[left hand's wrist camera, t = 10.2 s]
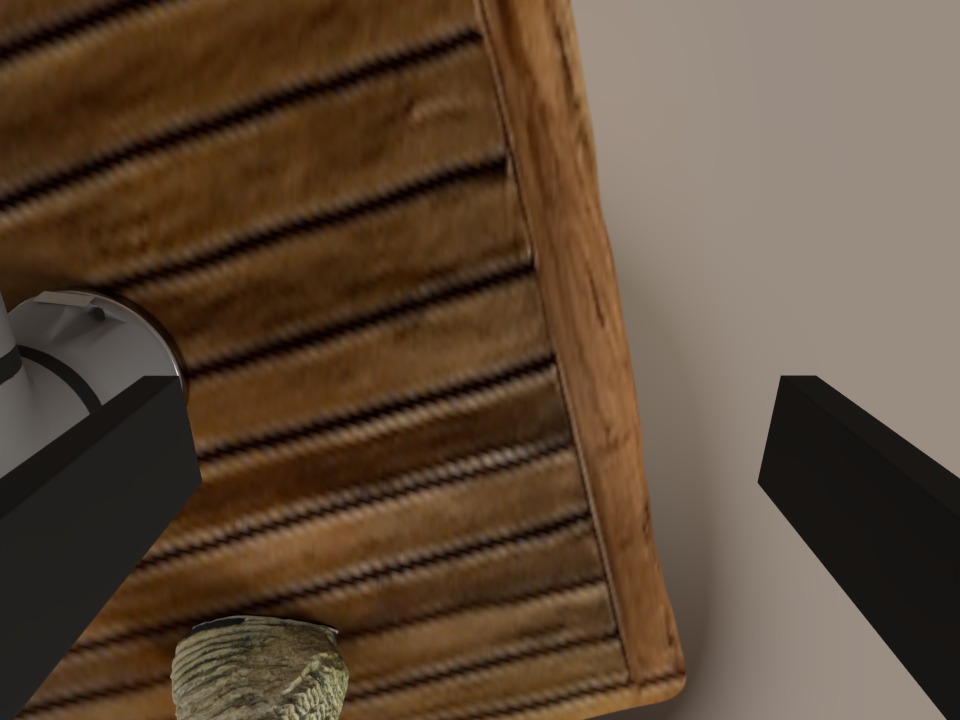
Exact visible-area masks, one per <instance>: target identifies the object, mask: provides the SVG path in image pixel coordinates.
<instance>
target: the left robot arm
mask: <svg viewBox="0 0 960 720" xmlns="http://www.w3.org/2000/svg"><path fill="white" fill-rule="evenodd" d="M188 397H189V378H188V372H187V368H186V364H185V361H184V359H183V356H182V354H181V352H180V350H179V348H178V346H177V344H176V343H175V341H174V340H173V338H172V337H171V336H170V334H169V333H168V332H167V331H166V329H165V328H164V327H163V326H162V325H161V324H160V323H159V322H158V321H157V320H156V319H155V318H154V317H153V316H152V315H150V314H149V313H148V312H146V311H145V310H144V309H142V308H141V307H139V306H138V305H136V304H135V303H133V302H131V301H129V300H127V299H125V298H123V297H121V296H119V295H116V294H113V293H110V292H107V291H104V290H100V289H94V288H88V287H66V288H60V289H55V290H52V291H49V292H48V291H43V292H42V293H41V294H40V295H38V296H35V297H32V298H30V299H28V300H26V301H24V302H23V303H21V304H20V305H18V306H17V307H16V308H14V309H13V310H12V311H10V312H9V313H8V314H7V311H6V307H5V304H4V301H3V298H2V295H1V292H0V720H13V719H14V718H15V717H16V716H17V714H18V713H19V712H20V711H21V709H22V708H23V707H24V706H25V704H26V703H27V702H28V701H29V699H30V698H31V697H32V696H33V694H34V693H35V692H36V691H37V689H38V688H39V687H40V685H41V684H42V683H43V682H44V680H45V679H46V678H47V677H48V675H49V674H50V673H51V672H52V670H53V669H54V668H55V667H56V665H57V664H58V663H59V662H60V660H61V659H62V658H63V657H64V655H65V654H66V653H67V652H68V650H69V649H70V648H71V647H72V645H73V644H74V643H75V642H76V640H77V639H78V638H79V637H80V635H81V634H82V633H83V632H84V630H85V629H86V628H87V627H88V625H89V624H90V623H91V622H92V620H93V619H94V618H95V617H96V615H97V614H98V613H99V612H100V610H101V609H102V608H103V607H104V605H105V604H106V603H107V602H108V600H109V599H110V598H111V597H112V595H113V594H114V593H115V592H116V590H117V589H118V588H119V587H120V585H121V584H122V583H123V581H124V580H125V579H126V578H127V576H128V575H129V574H130V573H131V571H132V570H133V569H134V568H135V566H136V565H137V564H138V563H139V561H140V560H141V559H142V558H143V556H144V555H145V554H146V553H147V551H148V550H149V549H150V548H151V546H152V545H153V544H154V543H155V541H156V540H157V539H158V538H159V536H160V535H161V534H162V533H163V531H164V530H165V529H166V528H167V526H168V525H169V524H170V523H171V521H172V520H173V519H174V518H175V516H176V515H177V514H178V513H179V511H180V510H181V509H182V508H183V506H184V505H185V504H186V503H187V501H188V500H189V499H190V498H191V496H192V495H193V494H194V493H195V491H196V490H197V489H198V488H199V486H200V485H201V484H202V478H201V473H200V469H199V464H198V460H197V455H196V451H195V446H194V441H193V437H192V432H191V428H190V423H189V419H188V414H187V410H186V406H187V402H188ZM758 484H759V485H760V486H761V488H762V489H763V490H764V491H765V493H766V494H767V495H768V496H769V498H770V499H771V500H772V501H773V503H774V504H775V505H776V506H777V508H778V509H779V510H780V511H781V513H782V514H783V515H784V516H785V518H786V519H787V520H788V521H789V523H790V524H791V525H792V526H793V528H794V529H795V530H796V531H797V533H798V534H799V535H800V536H801V538H802V539H803V540H804V541H805V543H806V544H807V545H808V546H809V548H810V549H811V550H812V551H813V553H814V554H815V555H816V556H817V558H818V559H819V560H820V561H821V563H822V564H823V565H824V566H825V568H826V569H827V570H828V571H829V573H830V574H831V575H832V576H833V578H834V579H835V580H836V581H837V583H838V584H839V585H840V586H841V588H842V589H843V590H844V592H845V593H846V594H847V595H848V597H849V598H850V599H851V600H852V602H853V603H854V604H855V605H856V607H857V608H858V609H859V610H860V611H861V613H862V614H863V615H864V617H865V618H866V619H867V620H868V621H869V623H870V624H871V625H872V627H873V628H874V629H875V630H876V631H877V633H878V634H879V635H880V637H881V638H882V639H883V640H884V642H885V643H886V644H887V645H888V647H889V648H890V649H891V650H892V652H893V653H894V654H895V655H896V657H897V658H898V659H899V660H900V662H901V663H902V664H903V665H904V667H905V668H906V669H907V670H908V672H909V673H910V674H911V675H912V677H913V678H914V679H915V680H916V682H917V683H918V684H919V685H920V687H921V688H922V689H923V691H924V692H925V693H926V694H927V695H928V697H929V698H930V699H931V700H932V702H933V703H934V704H935V706H936V707H937V708H938V709H939V710H940V712H941V713H942V714H943V716H944V717H945V718H946V719H947V720H960V478H958V477H957V476H955V475H954V474H953V473H951V472H950V471H949V470H947V469H946V468H944V467H943V466H942V465H940V464H939V463H937V462H936V461H935V460H933V459H932V458H930V457H929V456H928V455H926V454H925V453H923V452H922V451H921V450H919V449H918V448H916V447H915V446H914V445H912V444H911V443H909V442H908V441H907V440H905V439H904V438H902V437H901V436H900V435H898V434H897V433H895V432H894V431H893V430H891V429H890V428H889V427H887V426H886V425H884V424H883V423H882V422H880V421H879V420H877V419H876V418H875V417H873V416H872V415H870V414H869V413H868V412H866V411H865V410H863V409H862V408H861V407H859V406H858V405H856V404H855V403H854V402H852V401H851V400H849V399H848V398H847V397H845V396H844V395H842V394H841V393H840V392H838V391H837V390H835V389H834V388H833V387H831V386H830V385H828V384H827V383H826V382H824V381H823V380H822V379H820V378H819V377H817V376H781V378H780V382H779V387H778V391H777V396H776V400H775V405H774V410H773V414H772V419H771V423H770V428H769V432H768V437H767V442H766V446H765V451H764V455H763V460H762V464H761V469H760V473H759V478H758Z"/></svg>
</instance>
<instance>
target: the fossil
mask: <svg viewBox="0 0 960 720" xmlns="http://www.w3.org/2000/svg"><path fill="white" fill-rule="evenodd" d="M337 633H338V631H337V630H334V629H332V628H329V627H327V626H323V625H316V624H312V623H307V622H301V621H295V620H291V619H287V620H283V619H278V618H274V617H262V616H230V617H226V618H221V619H216V620H214V621H211V622H204V623H202V624H199V625H197V626H195V627H193V628H192V631H191V632H190V633H189V634H188V635H187V636H186V637H185V638H184V639H182V640H181V641H180V642H178V644H177V647H176V651H175V658H174V659H173V663H172V673H171V676H170V677H171V679H172V696H173V700H172V701H173V702H174V704H175V705H176V706H177V707H176V713H175V715H176V716H177V720H338V718H339V714H340V712H341V709H342V706H343V701H344V697H345V694H346V690H347V686H348V678H349V671H348V668H347V665H346V664H345V662H344V661H343V659H342V657H341V656H340V653H339V651H338V650H337V649H336V646H337V641H336V637H337Z"/></svg>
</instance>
